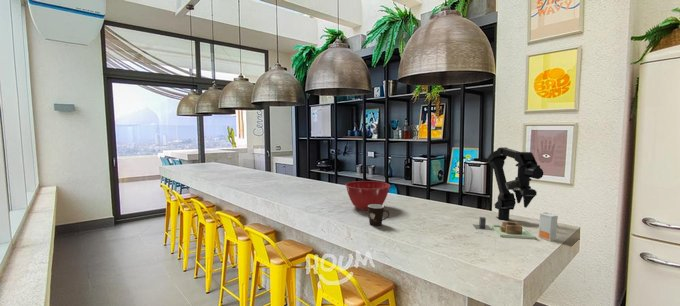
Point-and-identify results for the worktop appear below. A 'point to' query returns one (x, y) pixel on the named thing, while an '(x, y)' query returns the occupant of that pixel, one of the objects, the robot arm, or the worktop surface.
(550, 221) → the skincare box
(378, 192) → the mixing bowl
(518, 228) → the wooden lantern frame
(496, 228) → the tray
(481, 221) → the grey upright post
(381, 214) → the coffee mug
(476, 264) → the worktop surface
